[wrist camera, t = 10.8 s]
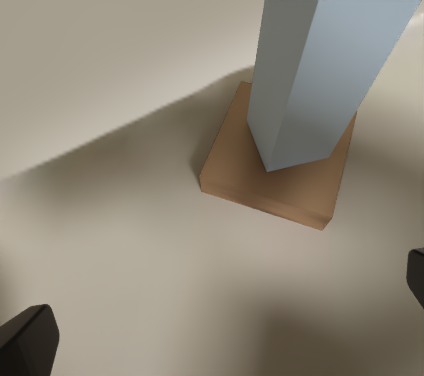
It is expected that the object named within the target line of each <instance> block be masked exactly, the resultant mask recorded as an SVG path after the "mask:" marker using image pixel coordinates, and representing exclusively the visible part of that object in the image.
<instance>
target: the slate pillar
mask: <svg viewBox="0 0 424 376" xmlns="http://www.w3.org/2000/svg"><path fill="white" fill-rule="evenodd" d="M421 1H422V0H265V2H264V9H263V15H262V22H261V28H260V36H259V41H258V48H257V55H256V61H255V68H254V74H253V81H252V88H251V94H250V101H249V108H248V114H247V123H248V125H249V128H250V131H251V133H252V136H253V138H254V141H255V143H256V146H257V148H258V151H259V154H260V156H261V159H262V161H263V164H264V166H265V169H266V172H269V171H274V170H278V169H282V168H287V167H291V166H295V165H299V164H304V163H308V162H312V161H317V160H321V159H325V158H329V156H330V155H331V153H332V151H333V150H334V148H335V146H336V144H337V143H338V141H339V139H340V138H341V136H342V134H343V133H344V131H345V129H346V128H347V126H348V124H349V122H350V121H351V119H352V117H353V116H354V114H355V112H356V111H357V109H358V107H359V106H360V104H361V102H362V100H363V99H364V97H365V95H366V94H367V92H368V90H369V89H370V87H371V85H372V84H373V82H374V80H375V78H376V77H377V75H378V73H379V72H380V70H381V68H382V67H383V65H384V63H385V62H386V60H387V58H388V56H389V55H390V53H391V51H392V50H393V48H394V46H395V45H396V43H397V41H398V40H399V38H400V36H401V34H402V33H403V31H404V29H405V28H406V26H407V24H408V23H409V21H410V19H411V18H412V16H413V14H414V12H415V11H416V9H417V7H418V6H419V4H420V2H421Z"/></svg>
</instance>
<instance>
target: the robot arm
mask: <svg viewBox="0 0 424 376" xmlns="http://www.w3.org/2000/svg"><path fill="white" fill-rule="evenodd" d="M406 278H407V283H408V286H409V288H410V290H411V291H412V292H413V294H414V295H415V297H416V298H417V300H418V301H419V303H420V304H421V306H422V307H423V309H424V248H418V249H412V250H411V251H410V252H409V254H408V262H407V276H406ZM58 343H59V329H58V326H57V323H56V320H55V317H54V314H53V311H52V309H51V307H50V306H49V305H47V304H42V305H36V306H31V307H29V308H27V309H26V310H24V311H23V312H21V313H20V314H18V315H17V316H15V317H14V318H12V319H11V320H9V321H8V322H6V323H5V324H3V325H2V326H0V376H50V374H51V370H52V367H53V363H54V359H55V355H56V351H57V347H58Z"/></svg>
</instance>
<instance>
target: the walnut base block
mask: <svg viewBox="0 0 424 376" xmlns="http://www.w3.org/2000/svg"><path fill="white" fill-rule="evenodd" d="M251 88H252V84H250V83H246V82H242V81H241V83H240V85H239V88H238V90H237V92H236V94H235V97H234V99H233V101H232V103H231V106H230V108H229V110H228V112H227V115H226V117H225V119H224V121H223V124H222V126H221V128H220V130H219V133H218V135H217V137H216V139H215V142H214V144H213V146H212V148H211V151H210V153H209V155H208V157H207V160H206V162H205V164H204V166H203V169H202V171H201V173H200V175H199V176H200V183H201V190H202V192H205V193H208V194H211V195H214V196H217V197H220V198H223V199H226V200H229V201H232V202H235V203H239V204H242V205H245V206H248V207H251V208H254V209H257V210H260V211H263V212H266V213H269V214H272V215H275V216H279V217H282V218H285V219H288V220H291V221H294V222H297V223H300V224H303V225H306V226H309V227H312V228H315V229H319V230H323V229H324V228H325V226H326V225H327V224H328V223H329V221H330V220H331V219H332V217H333V213H334V208H335V204H336V200H337V196H338V191H339V187H340V183H341V178H342V174H343V170H344V165H345V161H346V157H347V152H348V148H349V144H350V140H351V135H352V131H353V127H354V122H355V118H356V114H357V111H356V112H355V114H354V116H353V117H352V119H351V121H350V122H349V124H348V126H347V128H346V129H345V131H344V133H343V134H342V136H341V138H340V139H339V141H338V143H337V144H336V146H335V148H334V150H333V151H332V153H331V155H330V156H329V158H325V159H321V160H317V161H312V162H308V163H304V164H299V165H295V166H291V167H287V168H282V169H278V170H274V171H269V172H266V169H265V166H264V164H263V161H262V159H261V156H260V154H259V151H258V148H257V146H256V143H255V141H254V138H253V136H252V133H251V131H250V128H249V125H248V123H247V114H248V108H249V101H250V94H251Z"/></svg>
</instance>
